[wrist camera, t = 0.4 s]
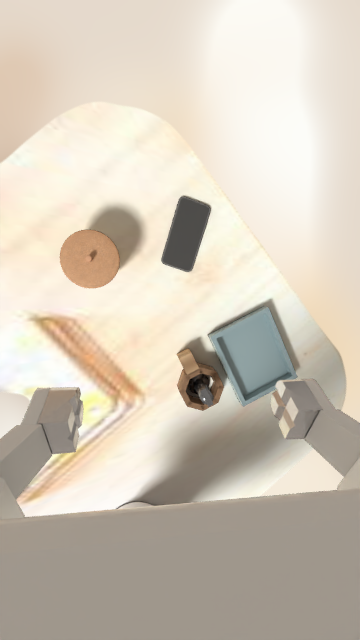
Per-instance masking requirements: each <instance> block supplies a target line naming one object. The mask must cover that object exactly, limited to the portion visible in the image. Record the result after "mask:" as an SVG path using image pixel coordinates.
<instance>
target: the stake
mask: <svg viewBox="0 0 360 640" xmlns="http://www.w3.org/2000/svg"><path fill="white" fill-rule="evenodd" d="M188 387H189V389H190V390H191V392H193V393H195V394H198V395H199V397H200V399H201V401H202V403H204V404H206V405H208V407H210V406H211V405H213V399H214V397H213V395H212V393H211V392H210V390H209V389H208V387H209V380H208V378H207V377H206V375H204V374H202V373H201V374H199V375H197V376H195V377H193V378H191V379H190V380H189V383H188Z"/></svg>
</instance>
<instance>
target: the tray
mask: <svg viewBox="0 0 360 640" xmlns="http://www.w3.org/2000/svg"><path fill="white" fill-rule="evenodd" d="M208 336H209V338H210V341H211V343H212V345H213V347H214V349H215V351H216V353H217V355H218V358H219V360H220V362H221V364H222V366H223V368H224V370H225V372H226V374H227V377H228V379H229V381H230V383H231V385H232V387H233V389H234V391H235V394H236V396H237V398H238V400H239V402H240V403H241V405H242V406H243V407H244V406H245V405H247V404H249V403H251V402H253V401H255V400H257V399H258V398H260V397H262V396H264V395H266V394H268V393H270V392H271V391H273V390H275V389H276V387H275V386H276V383H277V382H278V381H279V380H294V379H296V378H297V375H296V372H295V370H294V367H293V365H292V363H291V360H290V358H289V355H288V353H287V351H286V348H285V346H284V343H283V341H282V339H281V336H280V334H279V331H278V329H277V327H276V324H275V322H274V319H273V317H272V315H271V312H270V310H269V307H265V306H263V307H261V308H259V309H257V310H255V311H253V312H252V313H250V314H248V315H246V316H244V317H242V318H240V319H238V320H236V321H234V322H232V323H230V324H228V325H226V326H224V327H222V328H220V329H218V330H216V331H214V332H212V333H211V334H209V335H208Z"/></svg>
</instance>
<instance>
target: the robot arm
mask: <svg viewBox="0 0 360 640" xmlns="http://www.w3.org/2000/svg"><path fill="white" fill-rule="evenodd" d="M275 387H276V389H277V391H275V392H274V393H273V394H272V397H271V408H272V411H273V414H274V416H275V417H277V418H278V419H279V420H280V422H279V427H280V429H281V431H282V433H283V436H284V438H285V439H305V441H307V442H308V443H309V444H310V445H311V446H312V447H313V448H314V449H315V450H316V451H317V452H318V453H319V454H320V455H321V456H322V457H324V458H325V459H326V460H327V461H328V462H329V463H330V464H331V465H332V466H333V467H334V468H335V469H336V470H337V471H338V472H340V473H341V475H342V476H344V478H343V479H342V481H341V482H340V483H339V485H338V487H337V490H332V491H319V492H308V493H297V494H285V495H274V496H262V497H251V498H239V499H228V500H216V501H205V502H193V503H182V504H171V505H159V506H153V505H151V504H148V503H144V502H133V503H129V504H126V505H123V506H121V507H120V508H118V509H114V510H103V511H91V512H80V513H69V514H57V515H45V516H34V517H24V516H25V515H24V514H23V512H22V510H21V508H20V507H19V505H18V503H17V501H16V499H17V498H18V496H19V495H20V494H21V493H22V491H23V490H24V489H25V488H26V487H27V485H28V484H29V483H30V482H31V481H32V479H33V478H34V477H35V476H36V474H37V473H38V472H39V471H40V470H41V468H42V467H43V466H44V465H45V464H46V462H47V461H48V460H49V459H50V457H51V456H52V454H59V453H71V452H76V448H77V444H78V439H79V433H78V428H79V427H80V426H81V425H82V420H83V403H82V401H81V400H80V395H81V393H80V389H79V388H78V387H65V388H37V390H36V391H35V392H34V394H33V397H32V399H31V401H30V404H29V406H28V409H27V411H26V413H25V416H24V418H23V420H22V423H21V425H17V426H15V427H14V428H13V429H11V430H10V431H9V432H8V433H7V434H6V435H4V436H3V437H2V438H1V439H0V640H360V423H359V422H357V421H356V420H354V419H353V418H351V417H350V416H348V415H346V414H345V413H343V412H342V411H340V410H336V409H335V408H334V406H333V405H332V404H331V402H330V401H329V399H328V398H327V396H326V395H325V393H324V392H323V390H322V389H321V388H320V386H319V385H318V383H317V382H316V381H315V380H314V379H295V380H279V381H278V382H277V383H276V386H275Z"/></svg>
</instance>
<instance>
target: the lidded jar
mask: <svg viewBox="0 0 360 640" xmlns="http://www.w3.org/2000/svg"><path fill="white" fill-rule="evenodd" d="M60 263H61V267H62V269H63V272H64V273H65V275H66V276H67V277H68V278H69V279H70V280H71V281H72V282H73V283H75V284H76V285H79V286H81V287H84V288H98V287H102V286H104V285H106V284H108V283H109V282H110V281H111V280H112V279H113V278H114V277H115V275H116V274H117V272H118V269H119V264H120V257H119V252H118V250H117V248H116V246H115V244H114V243H113V241H112V240H111V239H110V238H109V237H108V236H106V235H105V234H103V233H101V232H98V231H95V230H81V231H78V232H75V233H74V234H72V235H71V236H69V237H68V238H67V239H66V241H65V242H64V244H63V246H62V248H61V252H60Z"/></svg>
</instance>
